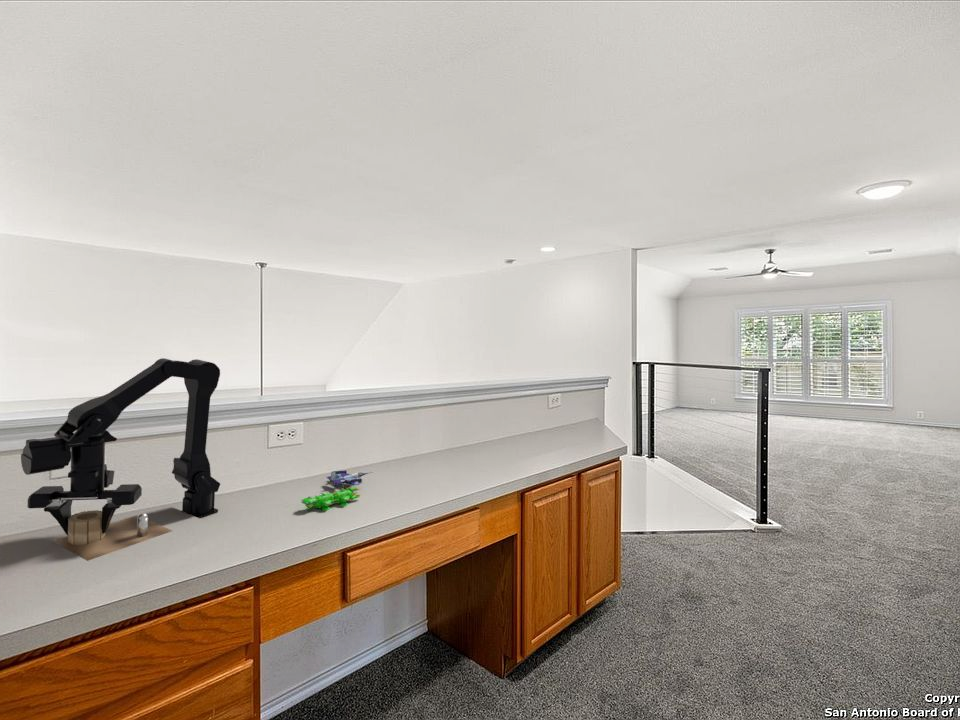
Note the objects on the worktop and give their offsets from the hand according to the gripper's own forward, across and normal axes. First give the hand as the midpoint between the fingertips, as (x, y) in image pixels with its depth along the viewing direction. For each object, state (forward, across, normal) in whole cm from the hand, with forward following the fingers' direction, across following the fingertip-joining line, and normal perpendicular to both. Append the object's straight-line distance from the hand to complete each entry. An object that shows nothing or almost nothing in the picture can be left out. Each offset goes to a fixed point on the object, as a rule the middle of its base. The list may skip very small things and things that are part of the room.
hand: (86, 533), depth 107 cm
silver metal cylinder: (+1, -10, 0) cm, 10 cm away
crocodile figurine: (+3, -52, -17) cm, 55 cm away
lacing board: (+3, -5, -1) cm, 6 cm away
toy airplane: (+3, -58, -33) cm, 66 cm away
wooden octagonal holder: (+1, 0, 0) cm, 1 cm away
